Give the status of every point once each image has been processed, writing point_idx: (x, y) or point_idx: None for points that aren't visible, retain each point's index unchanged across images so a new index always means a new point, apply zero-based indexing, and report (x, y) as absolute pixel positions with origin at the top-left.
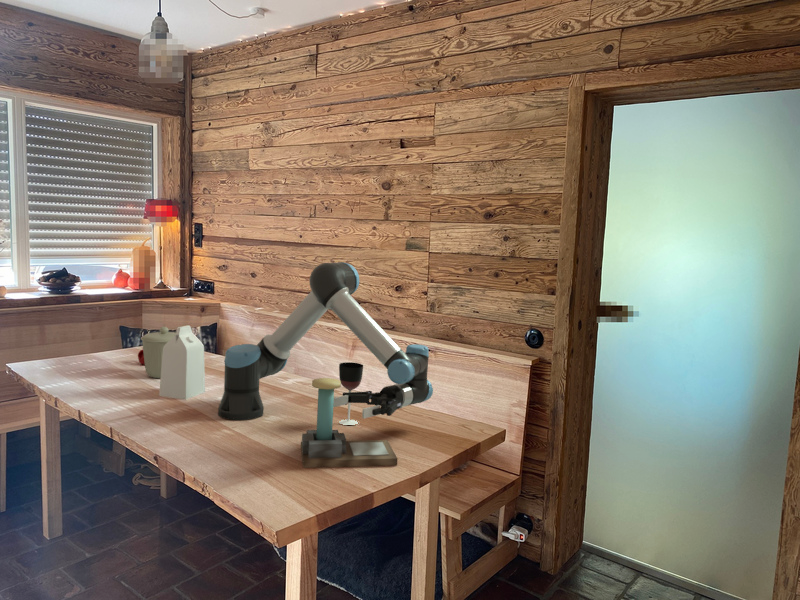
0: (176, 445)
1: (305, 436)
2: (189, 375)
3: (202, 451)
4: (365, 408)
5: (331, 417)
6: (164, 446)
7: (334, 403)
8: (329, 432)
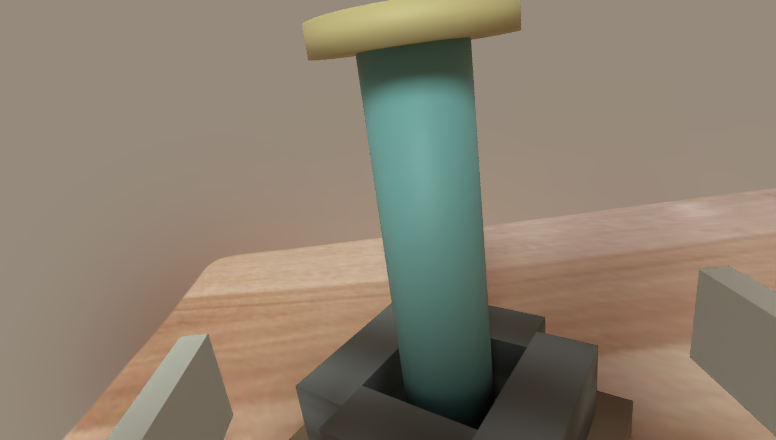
0: (725, 217)
1: (494, 314)
2: None
3: (661, 239)
4: (185, 356)
5: (387, 265)
6: (718, 207)
7: (720, 342)
8: (397, 340)
